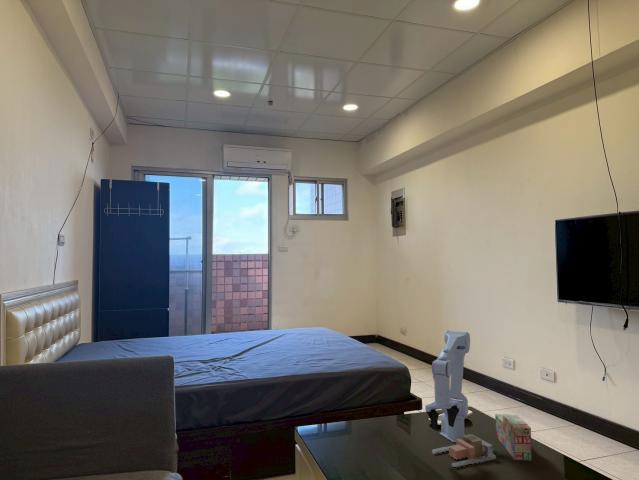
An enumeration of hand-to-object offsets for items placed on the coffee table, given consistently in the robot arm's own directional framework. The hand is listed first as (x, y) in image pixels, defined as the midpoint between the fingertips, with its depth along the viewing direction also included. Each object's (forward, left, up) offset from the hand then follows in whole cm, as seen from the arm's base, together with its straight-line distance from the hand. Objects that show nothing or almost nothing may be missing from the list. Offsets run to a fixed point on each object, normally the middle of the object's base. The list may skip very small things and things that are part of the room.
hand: (443, 427), depth 157 cm
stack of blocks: (+6, +29, -10) cm, 31 cm away
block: (+4, +10, -10) cm, 15 cm away
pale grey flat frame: (+4, +6, -10) cm, 12 cm away
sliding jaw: (+4, +5, -10) cm, 11 cm away
